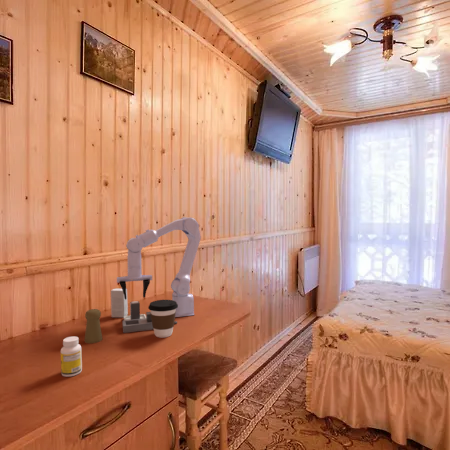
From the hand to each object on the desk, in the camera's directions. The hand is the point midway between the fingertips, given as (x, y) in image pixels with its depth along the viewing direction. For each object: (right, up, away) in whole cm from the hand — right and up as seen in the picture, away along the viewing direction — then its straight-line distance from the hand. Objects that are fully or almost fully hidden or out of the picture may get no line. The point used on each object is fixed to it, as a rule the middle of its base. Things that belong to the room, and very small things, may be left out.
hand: (134, 297), depth 139 cm
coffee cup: (+15, -10, -16) cm, 25 cm away
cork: (-9, -11, -22) cm, 26 cm away
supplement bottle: (-5, -11, -46) cm, 48 cm away
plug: (0, -9, 0) cm, 9 cm away
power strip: (+9, -10, -8) cm, 15 cm away
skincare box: (-9, -10, +6) cm, 14 cm away
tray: (0, -10, 0) cm, 10 cm away
